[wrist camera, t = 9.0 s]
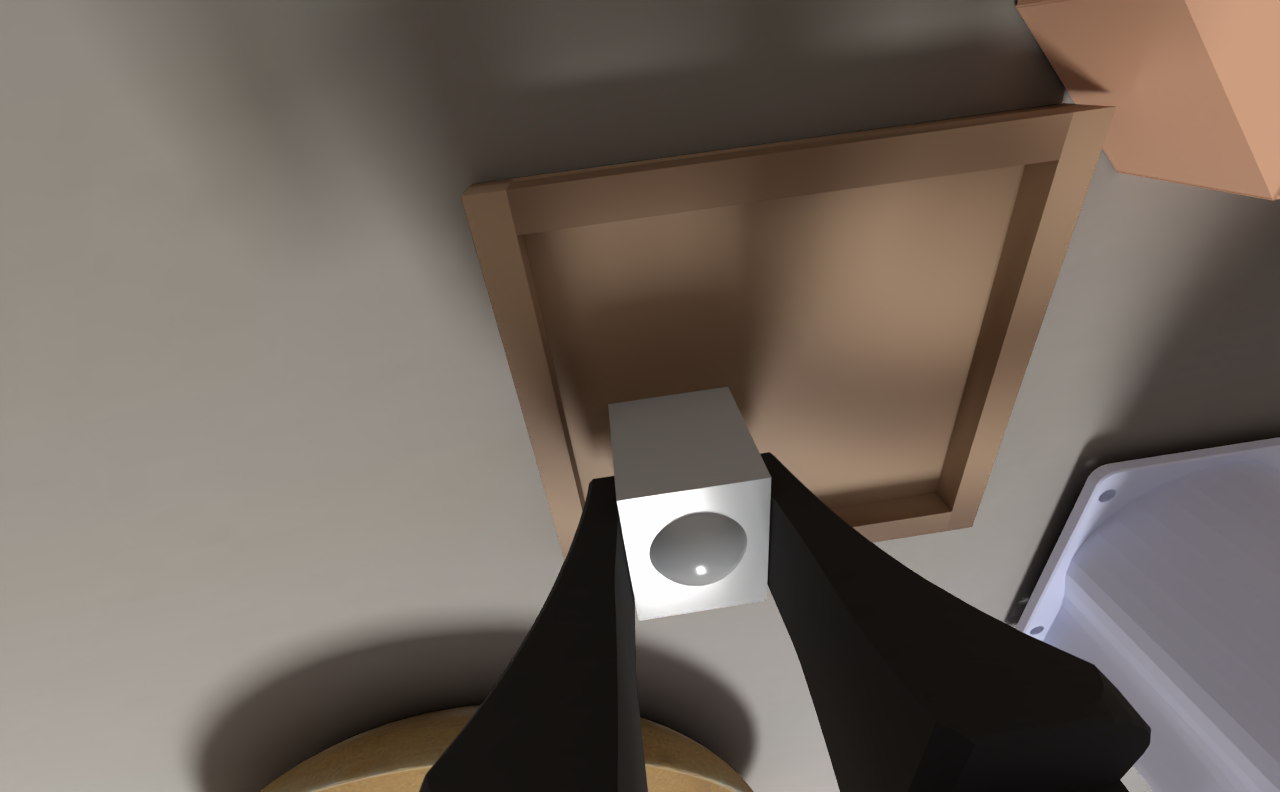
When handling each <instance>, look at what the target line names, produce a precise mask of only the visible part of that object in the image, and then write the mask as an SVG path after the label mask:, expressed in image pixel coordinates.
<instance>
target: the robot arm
mask: <svg viewBox="0 0 1280 792" xmlns="http://www.w3.org/2000/svg"><path fill="white" fill-rule="evenodd" d="M760 455H761V457H762V459H763V461H764V463H765V465H766V468H767V470H768V472H769V474H770V476H771V499H770V526H769V552H768V579H767V584H768V586H769V589H770V591H771V593H772V596H773V598H774V600H775V603H776V605H777V607H778V610H779V612H780V614H781V617H782V619H783V621H784V624H785V626H786V628H787V631H788V633H789V635H790V638H791V640H792V642H793V645H794V647H795V650H796V653H797V655H798V658H799V661H800V663H801V666H802V669H803V673H804V676H805V679H806V682H807V685H808V688H809V691H810V694H811V697H812V700H813V704H814V707H815V710H816V713H817V716H818V720H819V723H820V726H821V729H822V733H823V736H824V739H825V742H826V746H827V749H828V752H829V755H830V759H831V762H832V766H833V769H834V772H835V776H836V779H837V783H838V786H839V789H840V792H1129V791H1128V790H1127V788H1126V787H1125V786H1124V785H1123V783H1122V782H1121V781H1120V779H1121V778H1122V777H1123V776H1124V775H1125V774H1126V773H1127V771H1128V770H1129V769H1130V768H1131V767H1132V766H1134V768H1135V769H1136V770H1137V771H1138V773H1139V774H1140V775H1141V776H1142V778H1143V779H1144V780H1145V781H1146V783H1147V784H1148V785H1149V786H1150V788H1151V789H1152V790H1153V791H1154V792H1280V437H1278V438H1271V439H1265V440H1258V441H1252V442H1245V443H1239V444H1232V445H1226V446H1219V447H1213V448H1207V449H1200V450H1194V451H1187V452H1181V453H1174V454H1168V455H1161V456H1155V457H1148V458H1142V459H1135V460H1129V461H1123V462H1116V463H1110V464H1105V465H1102V466H1100V467H1098V468H1096V469H1095V470H1094V471H1093V472H1092V473H1091V474H1090V475H1089V477H1088V479H1087V481H1086V483H1085V485H1084V487H1083V489H1082V491H1081V493H1080V495H1079V497H1078V499H1077V501H1076V504H1075V506H1074V508H1073V510H1072V512H1071V514H1070V516H1069V518H1068V520H1067V522H1066V524H1065V526H1064V528H1063V530H1062V533H1061V535H1060V537H1059V539H1058V541H1057V543H1056V545H1055V547H1054V549H1053V551H1052V553H1051V555H1050V557H1049V560H1048V562H1047V564H1046V566H1045V568H1044V570H1043V572H1042V574H1041V576H1040V578H1039V580H1038V582H1037V584H1036V587H1035V589H1034V591H1033V593H1032V595H1031V597H1030V599H1029V601H1028V603H1027V605H1026V607H1025V609H1024V611H1023V613H1022V616H1021V618H1020V620H1019V622H1018V624H1017V626H1016V628H1013V627H1011V626H1009V625H1007V624H1005V623H1003V622H1001V621H999V620H997V619H995V618H994V617H992V616H990V615H988V614H986V613H984V612H982V611H980V610H978V609H976V608H975V607H973V606H971V605H969V604H967V603H965V602H964V601H962V600H960V599H959V598H957V597H955V596H953V595H952V594H950V593H948V592H947V591H945V590H943V589H941V588H940V587H938V586H936V585H935V584H933V583H931V582H929V581H928V580H926V579H924V578H923V577H921V576H920V575H918V574H917V573H915V572H913V571H912V570H910V569H909V568H907V567H906V566H904V565H903V564H901V563H900V562H898V561H897V560H896V559H894V558H893V557H891V556H890V555H888V554H887V553H886V552H884V551H883V550H881V549H880V548H879V547H877V546H876V545H875V544H873V543H872V542H871V541H869V540H868V539H867V538H865V537H864V536H863V535H862V534H860V533H859V532H858V531H857V530H855V529H854V528H853V527H851V526H850V525H849V524H848V523H847V522H845V521H844V520H843V519H842V518H841V517H839V516H838V515H837V514H836V513H835V512H834V511H832V510H831V509H830V508H829V507H828V506H827V505H826V504H824V503H823V502H822V501H821V500H820V499H819V498H818V497H816V496H815V495H814V494H813V493H812V492H811V491H810V490H809V489H808V488H807V487H806V486H805V485H804V484H803V483H801V482H800V481H799V480H798V479H797V478H796V477H795V476H794V475H793V474H792V473H791V472H790V471H789V470H788V469H787V468H786V467H785V466H784V465H783V464H782V463H781V462H780V461H779V460H778V459H777V458H776V457H775V456H774V455H773V454H772V453H770V452H767V453H761V454H760ZM419 792H648V786H647V777H646V768H645V758H644V749H643V740H642V731H641V721H640V712H639V702H638V693H637V679H636V650H635V599H634V593H633V587H632V582H631V576H630V571H629V566H628V560H627V555H626V550H625V544H624V539H623V533H622V528H621V523H620V517H619V512H618V506H617V501H616V489H615V478H614V476H609V477H602V478H595V479H593V480H592V481H591V482H590V483H589V487H588V492H587V497H586V501H585V505H584V508H583V512H582V515H581V518H580V521H579V524H578V527H577V530H576V533H575V535H574V538H573V541H572V543H571V546H570V549H569V551H568V554H567V556H566V559H565V561H564V563H563V565H562V568H561V570H560V572H559V574H558V577H557V579H556V581H555V583H554V586H553V588H552V590H551V592H550V594H549V596H548V598H547V600H546V602H545V604H544V606H543V608H542V609H541V611H540V613H539V615H538V617H537V619H536V620H535V622H534V624H533V626H532V628H531V629H530V631H529V633H528V634H527V636H526V638H525V639H524V641H523V643H522V644H521V646H520V647H519V649H518V651H517V652H516V654H515V656H514V657H513V659H512V660H511V662H510V663H509V665H508V667H507V668H506V670H505V671H504V673H503V674H502V675H501V677H500V678H499V680H498V681H497V682H496V684H495V685H494V687H493V688H492V690H491V691H490V692H489V694H488V695H487V697H486V698H485V699H484V701H483V702H482V704H481V705H480V706H479V708H478V709H477V711H476V712H475V713H474V715H473V716H472V717H471V719H470V720H469V721H468V723H467V724H466V725H465V726H464V728H463V729H462V730H461V731H460V733H459V734H458V735H457V736H456V738H455V739H454V740H453V741H452V743H451V744H450V745H449V746H448V747H447V749H446V750H445V751H444V752H443V754H442V755H441V756H440V757H439V759H438V760H437V761H436V762H435V764H434V765H433V766H432V767H431V768H430V770H429V771H428V772H427V773H426V775H425V777H424V780H423V782H422V785H421V788H420V790H419Z"/></svg>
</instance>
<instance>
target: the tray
mask: <svg viewBox="0 0 1280 792" xmlns="http://www.w3.org/2000/svg"><path fill="white" fill-rule="evenodd" d="M1115 109H1116V106H1099V105H1083V104H1066V103H1063V104H1056V105H1048V106H1041V107H1034V108H1026V109H1019V110H1012V111H1004V112H997V113H990V114H982V115H975V116H967V117H960V118H953V119H945V120H938V121H931V122H923V123H916V124H909V125H901V126H894V127H887V128H879V129H872V130H865V131H857V132H850V133H843V134H835V135H828V136H821V137H813V138H806V139H799V140H791V141H784V142H777V143H769V144H762V145H755V146H747V147H740V148H733V149H725V150H718V151H711V152H703V153H696V154H689V155H681V156H674V157H667V158H659V159H652V160H645V161H637V162H630V163H623V164H615V165H608V166H601V167H593V168H586V169H579V170H571V171H564V172H557V173H549V174H542V175H535V176H527V177H520V178H513V179H505V180H498V181H491V182H483V183H476V184H472V185H471V186H470V187H469V188H468V189H467V190H466V191H465V192H464V193H463V194H462V195H461V199H462V203H463V206H464V210H465V213H466V217H467V220H468V224H469V227H470V231H471V234H472V238H473V241H474V245H475V248H476V252H477V255H478V259H479V262H480V266H481V269H482V273H483V276H484V280H485V283H486V287H487V290H488V294H489V297H490V301H491V304H492V308H493V311H494V315H495V318H496V322H497V325H498V329H499V332H500V336H501V339H502V343H503V346H504V350H505V353H506V357H507V360H508V364H509V367H510V371H511V374H512V378H513V381H514V385H515V388H516V392H517V395H518V399H519V402H520V406H521V409H522V413H523V416H524V420H525V423H526V427H527V430H528V434H529V437H530V441H531V444H532V448H533V451H534V455H535V458H536V462H537V465H538V469H539V472H540V476H541V479H542V483H543V486H544V490H545V493H546V497H547V500H548V504H549V507H550V511H551V514H552V518H553V521H554V525H555V528H556V532H557V535H558V539H559V542H560V546H561V549H562V553H563V556H564V560H565V559H566V556H567V554H568V551H569V549H570V546H571V543H572V541H573V538H574V535H575V533H576V530H577V527H578V524H579V521H580V518H581V515H582V512H583V508H584V505H585V501H586V497H587V492H588V487H589V483H590V482H591V481H592V480H593V479H595V478H602V477H609V476H614V466H613V454H612V443H611V431H610V420H609V408H608V404H613V403H620V402H627V401H634V400H640V399H647V398H654V397H661V396H667V395H674V394H681V393H688V392H694V391H701V390H708V389H715V388H722V387H729V390H730V392H731V394H732V396H733V398H734V400H735V402H736V404H737V406H738V409H739V411H740V413H741V415H742V417H743V419H744V421H745V423H746V425H747V427H748V430H749V432H750V434H751V436H752V438H753V440H754V442H755V444H756V446H757V449H758V451H759V453H760V454H761V453H767V452H770V453H772V454H773V455H774V456H775V457H776V458H777V459H778V460H779V461H780V462H781V463H782V464H783V465H784V466H785V467H786V468H787V469H788V470H789V471H790V472H791V473H792V474H793V475H794V476H795V477H796V478H797V479H798V480H799V481H800V482H801V483H803V484H804V485H805V486H806V487H807V488H808V489H809V490H810V491H811V492H812V493H813V494H814V495H815V496H816V497H818V498H819V499H820V500H821V501H822V502H823V503H824V504H826V505H827V506H828V507H829V508H830V509H831V510H832V511H834V512H835V513H836V514H837V515H838V516H839V517H841V518H842V519H843V520H844V521H845V522H847V523H848V524H849V525H850V526H851V527H853V528H854V529H855V530H857V531H858V532H859V533H860V534H862V535H863V536H864V537H865V538H867V539H868V540H869V541H871V542H879V541H885V540H892V539H898V538H904V537H911V536H917V535H924V534H930V533H936V532H943V531H949V530H955V529H962V528H968V527H972V526H973V523H974V520H975V517H976V514H977V511H978V508H979V505H980V502H981V499H982V496H983V494H984V491H985V488H986V485H987V482H988V479H989V476H990V473H991V470H992V467H993V464H994V461H995V459H996V456H997V453H998V450H999V447H1000V444H1001V441H1002V438H1003V435H1004V432H1005V429H1006V427H1007V424H1008V421H1009V418H1010V415H1011V412H1012V409H1013V406H1014V403H1015V400H1016V397H1017V394H1018V392H1019V389H1020V386H1021V383H1022V380H1023V377H1024V374H1025V371H1026V368H1027V365H1028V362H1029V359H1030V357H1031V354H1032V351H1033V348H1034V345H1035V342H1036V339H1037V336H1038V333H1039V330H1040V327H1041V324H1042V322H1043V319H1044V316H1045V313H1046V310H1047V307H1048V304H1049V301H1050V298H1051V295H1052V292H1053V289H1054V287H1055V284H1056V281H1057V278H1058V275H1059V272H1060V269H1061V266H1062V263H1063V260H1064V257H1065V254H1066V252H1067V249H1068V246H1069V243H1070V240H1071V237H1072V234H1073V231H1074V228H1075V225H1076V222H1077V219H1078V217H1079V214H1080V211H1081V208H1082V205H1083V202H1084V199H1085V196H1086V193H1087V190H1088V187H1089V184H1090V182H1091V179H1092V176H1093V173H1094V170H1095V167H1096V164H1097V161H1098V158H1099V155H1100V152H1101V150H1102V147H1103V144H1104V141H1105V138H1106V135H1107V132H1108V129H1109V126H1110V123H1111V120H1112V117H1113V115H1114V112H1115Z"/></svg>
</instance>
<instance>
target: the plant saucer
mask: <svg viewBox="0 0 1280 792" xmlns="http://www.w3.org/2000/svg"><path fill="white" fill-rule="evenodd" d="M479 706H480V705H473V706H465V707H459V708H452V709H446V710H441V711H435V712H430V713H426V714H421V715H417V716H413V717H409V718H406V719H402V720H399V721H395V722H392V723H389V724H386V725H383V726H380V727H377V728H374V729H372V730H369V731H366V732H363V733H361V734H358V735H356V736H353V737H351V738H349V739H347V740H344V741H342V742H340V743H338V744H336V745H334V746H332V747H330V748H328V749H326V750H324V751H322V752H320V753H318V754H316V755H315V756H313V757H311V758H309V759H307V760H305V761H303V762H302V763H300V764H298V765H297V766H295V767H294V768H292V769H290V770H289V771H287V772H286V773H284V774H283V775H281V776H280V777H279V778H277V779H276V780H274V781H273V782H271V783H270V784H269V785H267V786H266V787H265V788H264V789H262V790H261V791H260V792H419V790H420V788H421V785H422V782H423V780H424V777H425V775H426V773H427V772H428V771H429V770H430V768H431V767H432V766H433V765H434V764H435V762H436V761H437V760H438V759H439V757H440V756H441V755H442V754H443V752H444V751H445V750H446V749H447V747H448V746H449V745H450V744H451V743H452V741H453V740H454V739H455V738H456V736H457V735H458V734H459V733H460V731H461V730H462V729H463V728H464V726H465V725H466V724H467V723H468V721H469V720H470V719H471V717H472V716H473V715H474V713H475V712H476V711H477V709H478V708H479ZM640 721H641V731H642V740H643V749H644V758H645V768H646V777H647V786H648V792H753V790H752V789H751V788H750V787H749V786H748V784H747V783H746V782H745V781H744V780H743V779H742V778H741V777H740V775H739V774H738V773H736V772H735V771H734V770H733V769H732V768H731V767H730V766H729V765H728V764H727V763H726V762H724V761H723V760H722V759H721V758H719V757H718V756H717V755H715V754H714V753H713V752H711V751H710V750H708V749H707V748H706V747H704V746H702V745H701V744H699V743H697V742H696V741H694V740H692V739H690V738H689V737H687V736H685V735H683V734H681V733H679V732H676V731H674V730H672V729H670V728H668V727H666V726H663V725H661V724H658V723H655V722H653V721H650V720H647V719H644V718H641V717H640Z"/></svg>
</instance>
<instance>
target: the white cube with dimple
mask: <svg viewBox="0 0 1280 792" xmlns="http://www.w3.org/2000/svg"><path fill="white" fill-rule="evenodd" d="M608 408H609V420H610V431H611V443H612V454H613V466H614V478H615V489H616V501H617V506H618V512H619V517H620V523H621V528H622V533H623V539H624V544H625V550H626V555H627V560H628V566H629V571H630V576H631V582H632V587H633V593H634V598H635V603H636V609H637V614H638V619H639V621H640V620H647V619H653V618H659V617H666V616H672V615H678V614H685V613H691V612H697V611H703V610H710V609H716V608H722V607H729V606H735V605H741V604H748V603H754V602H760V601H767V579H768V552H769V526H770V499H771V476H770V474H769V472H768V470H767V468H766V465H765V463H764V461H763V459H762V457H761V455H760V453H759V451H758V449H757V446H756V444H755V442H754V440H753V438H752V436H751V434H750V432H749V430H748V427H747V425H746V423H745V421H744V419H743V417H742V415H741V413H740V411H739V409H738V406H737V404H736V402H735V400H734V398H733V396H732V394H731V392H730V390H729V387H722V388H715V389H708V390H701V391H694V392H688V393H681V394H674V395H667V396H661V397H654V398H647V399H640V400H634V401H627V402H620V403H613V404H608Z"/></svg>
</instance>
